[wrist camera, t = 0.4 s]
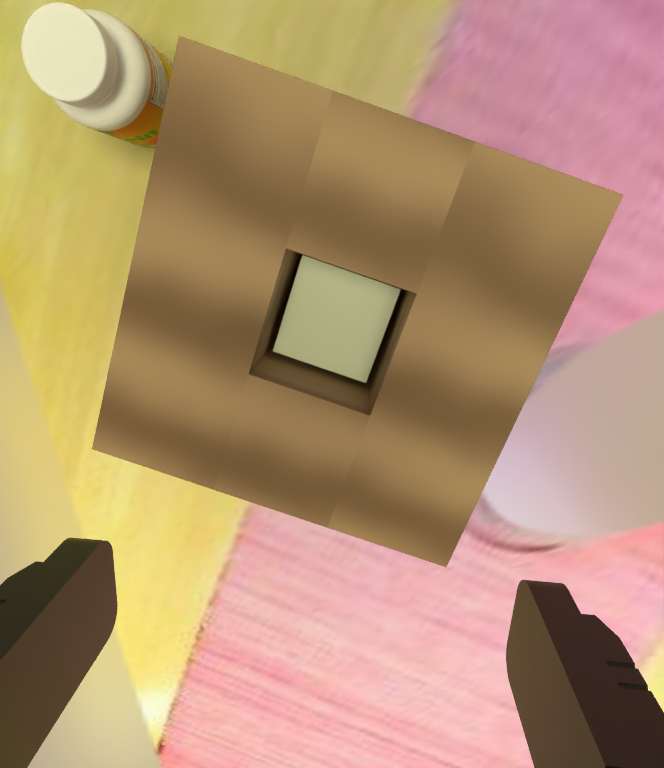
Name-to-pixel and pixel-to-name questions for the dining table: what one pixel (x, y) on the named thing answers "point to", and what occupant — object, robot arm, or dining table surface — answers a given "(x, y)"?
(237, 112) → the walnut block
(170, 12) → the dining table surface
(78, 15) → the supplement bottle
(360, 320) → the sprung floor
